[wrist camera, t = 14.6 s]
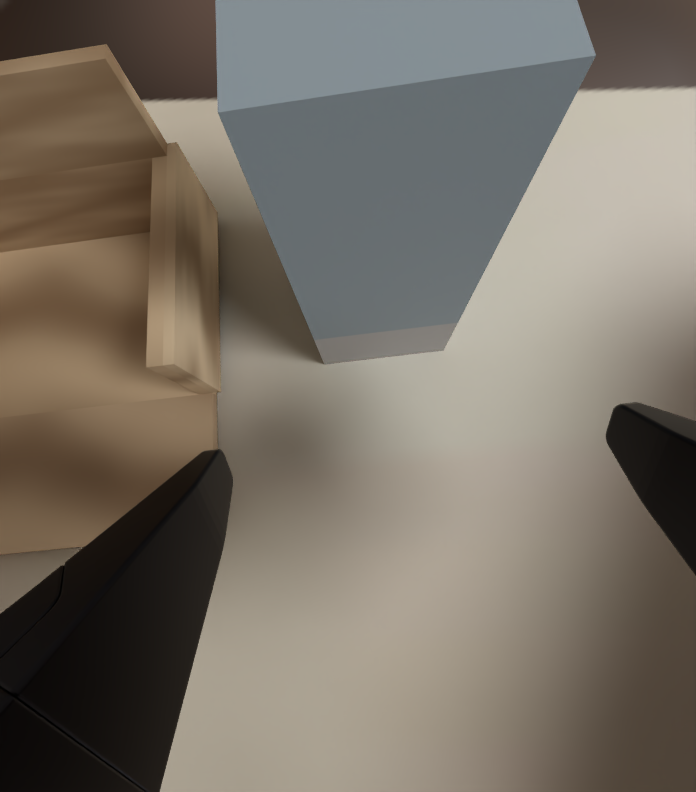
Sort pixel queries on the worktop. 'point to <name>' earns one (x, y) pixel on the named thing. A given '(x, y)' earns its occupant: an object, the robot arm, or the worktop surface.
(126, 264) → the kraft carton
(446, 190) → the slate block
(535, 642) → the worktop surface
